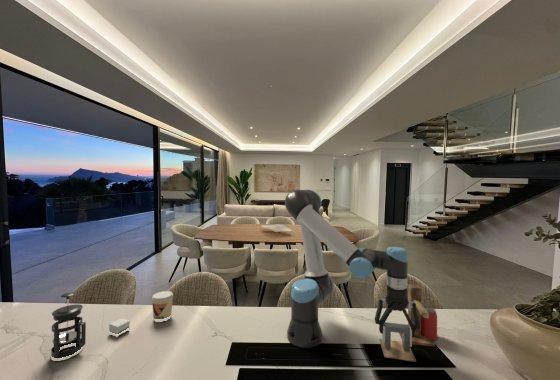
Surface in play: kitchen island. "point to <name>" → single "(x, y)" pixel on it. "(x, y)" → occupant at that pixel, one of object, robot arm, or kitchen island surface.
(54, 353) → the french press
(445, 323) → the kitchen island surface
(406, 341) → the gray arch block
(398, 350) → the coaster
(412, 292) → the stand
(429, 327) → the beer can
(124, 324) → the small box
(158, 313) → the coffee cup
